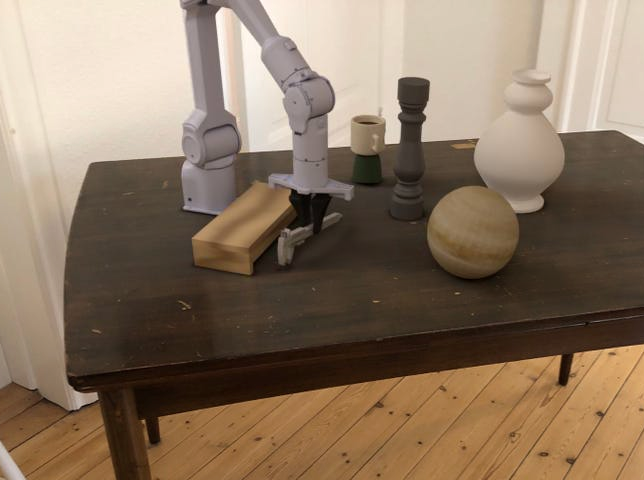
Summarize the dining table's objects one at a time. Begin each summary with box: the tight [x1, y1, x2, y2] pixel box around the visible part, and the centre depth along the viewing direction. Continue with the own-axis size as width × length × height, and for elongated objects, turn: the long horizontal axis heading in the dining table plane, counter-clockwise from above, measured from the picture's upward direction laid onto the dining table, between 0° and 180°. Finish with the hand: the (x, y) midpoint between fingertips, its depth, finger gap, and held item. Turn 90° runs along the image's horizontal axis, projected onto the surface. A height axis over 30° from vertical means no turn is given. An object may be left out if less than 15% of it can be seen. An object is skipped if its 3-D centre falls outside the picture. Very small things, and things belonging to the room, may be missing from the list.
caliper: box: [277, 212, 344, 267], centre depth 128 cm, size 20×1×6 cm, turn 155°
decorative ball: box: [426, 185, 520, 280], centre depth 121 cm, size 15×15×15 cm
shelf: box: [191, 181, 298, 276], centre depth 131 cm, size 10×26×5 cm, turn 165°
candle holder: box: [390, 76, 431, 221], centre depth 137 cm, size 6×6×25 cm
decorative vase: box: [473, 68, 566, 214], centre depth 145 cm, size 18×18×25 cm
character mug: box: [350, 114, 387, 185], centre depth 153 cm, size 11×7×13 cm, turn 24°
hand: (311, 231), depth 129 cm, fingers closed on caliper, 1 cm apart
